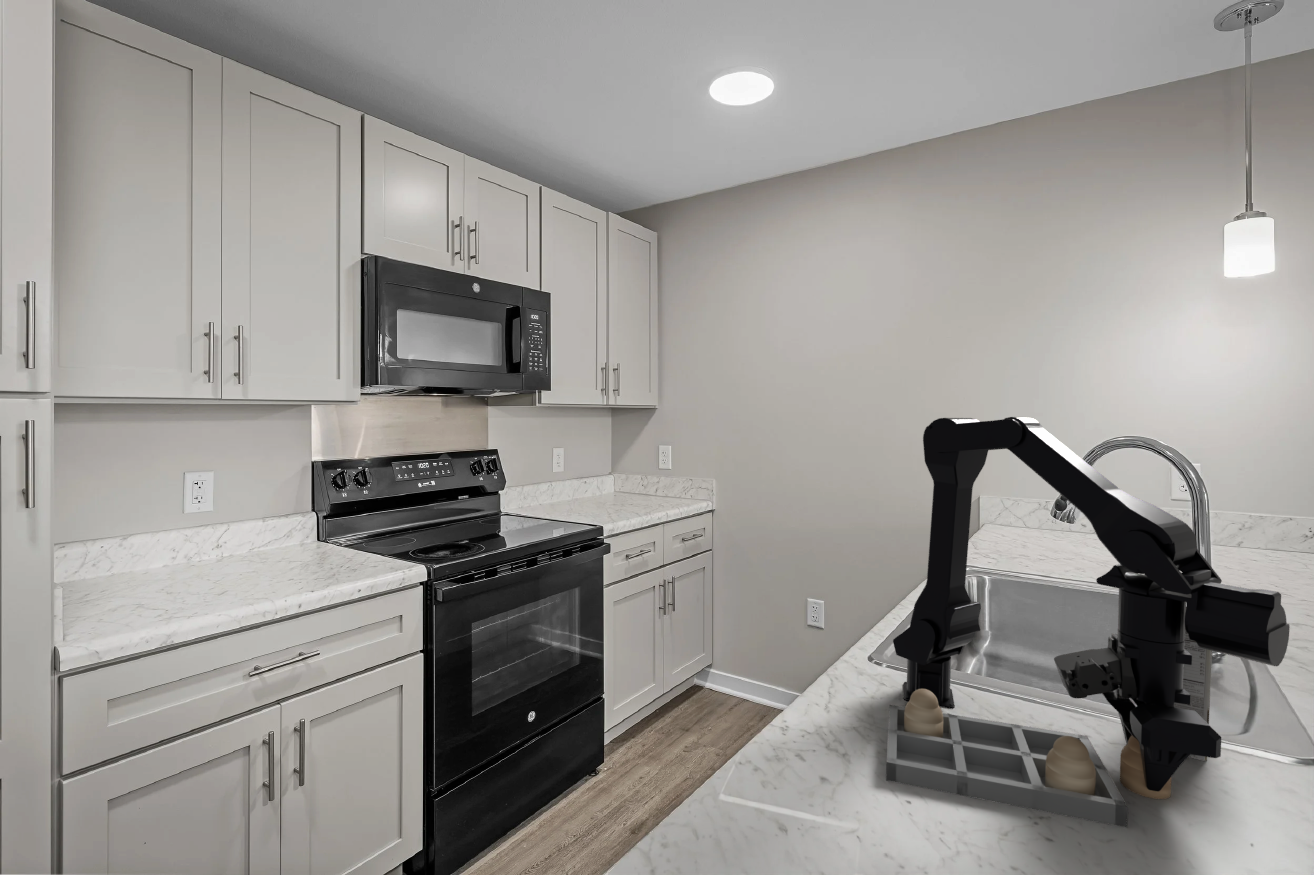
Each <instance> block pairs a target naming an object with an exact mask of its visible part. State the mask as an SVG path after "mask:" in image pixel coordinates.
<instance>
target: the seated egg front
mask: <svg viewBox="0 0 1314 875" xmlns="http://www.w3.org/2000/svg"><path fill="white" fill-rule="evenodd" d="M1095 783H1096V770H1095V766H1094V764H1093V762H1092V760H1091V759H1090V757H1089V752H1088V749H1087V747H1086V746H1085V745H1084V744H1083V742H1081V741H1080V740H1079V739H1077V738H1075V737H1072V736H1062V737H1060V738H1058V739H1057V740H1056V741H1055V743H1054V745H1053V748H1052V749H1051V750H1050V751H1049V753H1048V755H1047V757H1046V774H1045V787H1049V788H1055V789H1060V790H1066V791H1071V792H1077V793H1082V794H1087V795H1093V796H1095Z"/></svg>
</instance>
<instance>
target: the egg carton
mask: <svg viewBox="0 0 1314 875" xmlns="http://www.w3.org/2000/svg"><path fill="white" fill-rule="evenodd" d="M905 707H906V706H900V705H894V704H889V707H888V724H887V725H888V726H887V727H888V728H887V744H886V745H887V746H886V747H887V748H886V764H885V766H886V769H885V770H886V772H885V773H886V774H885V778H886V779H885V780H886V782H891V783H898V784H901V785H907V786H911V787H919V788H922V789H928V790H933V791H939V792H943V793H948V794H952V795H958V796H963V797H969V798H973V799H979V800H984V801H989V802H994V803H999V804H1003V805H1008V806H1015V807H1020V808H1024V809H1029V810H1034V811H1035V810H1036V811H1039V812H1045V813H1051V814H1054V815H1060V816H1064V817H1070V818H1073V819H1074V818H1075V819H1080V820H1086V821H1090V822H1096V823H1099V824H1100V823H1101V824H1104V825H1105V824H1107V825H1110V826H1115V827H1121V828H1126V829H1127V828H1128V817H1129V815H1128V814H1129V807H1128V805H1127V803H1126V801H1125V800H1124V797H1123V795H1122V794H1121V792H1120V791H1119V789H1118V787H1117V786H1116V783H1115V781H1114V780H1113V778H1112V776H1111V774H1110V773H1109V771H1108V769H1107V768H1106V766H1105V765H1104V763H1103V760H1102V759H1101V757H1100V756H1099V754H1098V752H1097V750H1096V749H1095V747H1094V745H1093V744H1092V742H1091V740H1090V738H1089V736H1088V735H1085V734H1078V733H1071V732H1066V731H1061V730H1059V731H1058V730H1052V729H1048V728H1047V729H1046V728H1039V727H1036V726H1035V727H1033V726H1027V725H1022V724H1021V725H1019V724H1016V723H1015V724H1014V723H1009V722H1008V723H1007V722H1003V721H995V720H990V719H989V720H988V719H983V718H976V717H970V716H964V715H959V714H952V713H951V714H950V713H945V712H942V713H943V738H939V737H933V736H927V735H922V734H916V733H910V732H904V712H905ZM1062 736H1072V737H1075V738H1077V739H1079V740H1080V741H1081V742H1083V744H1084V745H1085V746H1086V747H1087V749H1088V752H1089V757H1090V759H1091V760H1092V762H1093V764H1094V766H1095V770H1096V783H1095V796H1093V795H1087V794H1082V793H1077V792H1071V791H1066V790H1060V789H1055V788H1049V787H1045V774H1046V757H1047V755H1048V753H1049V751H1050V750H1051V749H1052V748H1053V745H1054V743H1055V741H1056V740H1057V739H1058V738H1060V737H1062Z"/></svg>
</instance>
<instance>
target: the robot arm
mask: <svg viewBox="0 0 1314 875" xmlns="http://www.w3.org/2000/svg"><path fill="white" fill-rule="evenodd" d="M922 444H923V455H924V456H923V457H924V463H925V466H926V467H927V471H928V472H929V474H930V476H931V478H932V479H931V480H932V481H933V488H932V489H933V490H932V502H931V503H932V506H931V520H930V531H929V544H928V545H929V547H928V560H927V573H926V583H925V586H924V588H922V590H921V592H920V594H919V596H918V597H917V599H916V601H915V602H914V605H913V609H912V615H911V619H910V623H909V627H907V629H905V630H904V631H902V632H901V633H900V634H898V635H897V636H896V637H895V638H894V639H893V640H892V644H893V647H894V650H895V655H896V656H898V657H901V658H902V659H903V658H904V659H906V664H907V665H906V681H904V682H903V701H904V702H907V703H908V702H909V701H910V697H911V695H912V693H913V692H914V691H916V690H918V689H927V690H929V691H931V692H932V693H933V694H934V695H935V696H936V698H937V700H938V705H939V707H940V708H945V709H946V708H947V709H952V710H953V709H955V700H954V694H953V690H952V688H951V679H952V678H951V677H952V676H951V673H952V671H951V670H952V657H953V656H956V655H958V656H959V655H962V654H963V652H964V649H965V647H966V645H968V644H969V643H971V642H972V641H973V640H974V638H975V636H976V633H978V632H981V628H980V624H979V623H980V622H979V620H980V619H979V618H980V613H981V610H982V606H981V605H982V604H981V602H979V601H973V600H971V597H970V596H969V594H968V591H967V588H966V578H967V577H966V576H967V566H968V565H967V564H968V550H969V539H970V538H969V537H970V527H971V525H970V524H971V513H972V500H973V488H974V484H975V482H976V480H977V479H978V477H979V475H980V473H981V471H982V470H983V468H984V466H985V464H986V460H987V458H988V453H989V451H995V450H1005V449H1006V450H1008V451H1010V452H1011V453H1012V454H1013V455H1014V456H1016V457H1017V458H1018V459H1019V460H1020V461H1021V462H1023V464H1025V465H1026V466H1027V467H1028V468H1030V469H1031V470H1032V471H1033V472H1034V473H1035V474H1036V475H1038V476H1039V477H1040V478H1041V479H1042V480H1044V481H1045V482H1046V483H1047V484H1048V485H1049V486H1050V487H1051V488H1053V489H1054V490H1055V491H1056V492H1058V493H1059V495H1061V496H1062V497H1063V498H1064V499H1066V501H1067V502H1069V503H1070V504H1071V505H1073V507H1075V508H1076V509H1077V510H1079V512H1081V513H1082V515H1083V516H1084V517H1086V519H1087V520H1088V521H1089V523H1090V524H1091V526H1092V528H1093V531H1094V533H1095V534H1096V536H1097V539H1098V540H1099V541H1100V543H1101V544H1103V546H1104V547H1105V548H1106V549H1107V550H1108V552H1109V553H1110V554H1111V556H1112V557H1113V558H1114V559H1115V561H1117V562H1118V564H1115V565H1113V566H1112V567H1111V568H1110V570H1109V571H1108V572H1106V573H1104V574H1103V575H1101V576H1099V577H1096V579H1095V581H1096V584H1098V585H1101V586H1106V587H1109V588H1115V589H1118V599H1117V600H1118V604H1117V605H1118V607H1117V633H1114V632H1113V633H1111V636H1108V639H1107V641H1108V642H1107V647H1105V648H1104V647H1103V648H1093V649H1085V650H1081V651H1075V652H1069V653H1064V654H1060V655H1059V654H1058V655H1056V656H1055V657H1054V658H1053V660H1054V663H1055V666H1056V668H1057V671H1058V674H1059V677H1060V679H1061V682H1062V685H1063V687H1064V688H1065V690H1066V692H1067V693H1068V695H1069V697H1070V698H1072V699H1085V698H1087V697H1088V696H1095V695H1101V694H1102V696H1103V697H1104V699H1105V700H1106V701H1107V703H1109V704H1110V706H1111V707H1112V708H1113V709H1114V710H1116V712H1118V717H1119V721H1120V724H1121V727H1122V732H1123V737H1124V740H1125V745H1127V744H1128V740H1129V738H1130V737H1131V736H1133V737H1134V738H1136V739H1137V740H1138V741H1139V745H1140V752H1141V759H1142V765H1143V772H1144V778H1145V784H1146V787H1147V789H1148V790H1152V791H1160V790H1161V789H1162V788H1163V787H1164V785H1165V784H1166V783H1167V782H1168V780H1169V779H1170V778H1171V779H1172V777H1171V776H1173V775H1174V774H1175V773H1176V772H1177V770H1178V769H1179V768H1180V766H1181V765H1182V764H1183V763H1184V762H1185V761H1186V760H1187V759H1188V758H1190V757H1189V755H1190V754H1192V755H1198V756H1204V757H1207V758H1211V759H1218V758H1220V757H1221V756H1222V754H1221V753H1222V736H1221V735H1220V734H1219V733H1218V732H1217V731H1216V730H1215V729H1214V728H1213V727H1212V726H1211V725H1210V723H1209V724H1208V723H1207V722H1206V721H1205V720H1204V719H1203V718H1202V717H1201V716H1200V715H1199V714H1198V713H1197V712H1196V711H1193V710H1186V709H1179V708H1175V707H1174V703H1181V704H1188V705H1190V694H1189V693H1188V692H1187V691H1186V690H1185V689H1184V688H1183V672H1184V664H1187V665H1192V655H1191V654H1190V653H1189V652H1187V651H1186V650H1185V649H1184V646H1185V629H1186V632H1187V633H1188V635H1189V639H1190V640H1193V641H1196V643H1197V644H1198V646H1199V647H1200V648H1204V649H1208V650H1212V652H1215V653H1220V654H1224V655H1228V656H1233V657H1237V658H1240V659H1244V660H1249V661H1252V662H1255V663H1260V664H1265V665H1267V666H1272V667H1278V666H1280V664H1281V663H1282V662H1283V661H1284V658H1285V656H1286V653H1287V650H1288V646H1289V639H1290V629H1291V628H1290V623H1287V615H1286V611H1285V608H1284V607H1283V605H1282V593H1280V592H1279V591H1275V590H1269V589H1263V588H1262V589H1261V588H1260V589H1259V588H1258V589H1253V588H1245V587H1240V586H1235V585H1229V584H1224V583H1222V582H1223V581H1222V579H1221V577H1220V576H1219V574H1218V573H1217V572H1216V571H1215V570H1214V568H1213V567H1212V566H1211V565H1210V563H1209V562H1208V561H1207V560H1206V558H1205V556H1204V555H1202V553H1201V551H1199V549H1198V548H1197V535H1196V533H1195V531H1194V530H1193V529H1192V527H1190V526H1189V525H1188V524H1187V523H1186V522H1185V521H1183V520H1181V519H1180V518H1178V517H1177V516H1175V515H1172V514H1170V513H1169V512H1167V511H1165V510H1164V509H1162V508H1160V507H1159V506H1156V505H1154V504H1152V503H1151V502H1147V501H1145V500H1143V499H1140V498H1138V497H1136V496H1134V495H1131V494H1130V493H1128V492H1126V491H1124V490H1122V488H1119V487H1118V486H1117V485H1115V484H1114V483H1112V481H1111V480H1109V479H1108V478H1107V477H1105V476H1104V475H1103V474H1101V472H1099V470H1096V469H1095V468H1094V467H1093V466H1092V465H1090V463H1087V462H1086V461H1085V460H1084V459H1083V458H1082V457H1080V456H1079V455H1077V453H1075V452H1074V451H1073V450H1071V449H1070V448H1069V447H1068V446H1066V445H1065V444H1064V443H1063V442H1061V441H1060V440H1059V439H1057V438H1056V437H1055V436H1054V435H1053V434H1051V433H1050V432H1048V430H1046V429H1045V428H1044V427H1043V425H1042V424H1041V423H1040V422H1039V421H1038V420H1037V419H1035V418H1033V417H1030V416H1009V417H1004V419H994V420H985V421H982V420H981V421H980V420H979V419H976V418H972V417H941V418H937V419H934V420H933V421H932V422H931V423H929V425H927V426H926V427H925V429H924V431H923V435H922Z"/></svg>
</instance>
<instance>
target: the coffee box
mask: <svg viewBox="0 0 1314 875" xmlns="http://www.w3.org/2000/svg"><path fill="white" fill-rule="evenodd" d="M1184 649H1185V650H1186V651H1187V652H1189V653H1190V654H1191V655H1192V665H1187V664H1184V672H1183V688H1184V689H1185V690H1186V691H1187V692H1188V693H1189V694H1190V705H1188V704H1181V703H1174V707H1175V708H1179V709H1186V710H1193V711H1196V712H1197V713H1198V714H1199V715H1200V716H1201V717H1202V718H1203V719H1204V720H1205V721H1206V722H1207V723H1208V724H1209V725H1210V710H1211V707H1210V706H1211V686H1212V661H1213V658H1212V657H1213V651H1212V650H1208V649H1204V648H1200V647H1199V646H1198V644H1197V643H1196V641H1193V640H1190V639H1189V635H1188V633H1187V632H1186V629H1185V646H1184ZM1188 758H1191V759H1195V760H1199V761H1203V762H1207V761H1208V757H1204V756H1198V755H1192V754H1190V755H1189V757H1188Z"/></svg>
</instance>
